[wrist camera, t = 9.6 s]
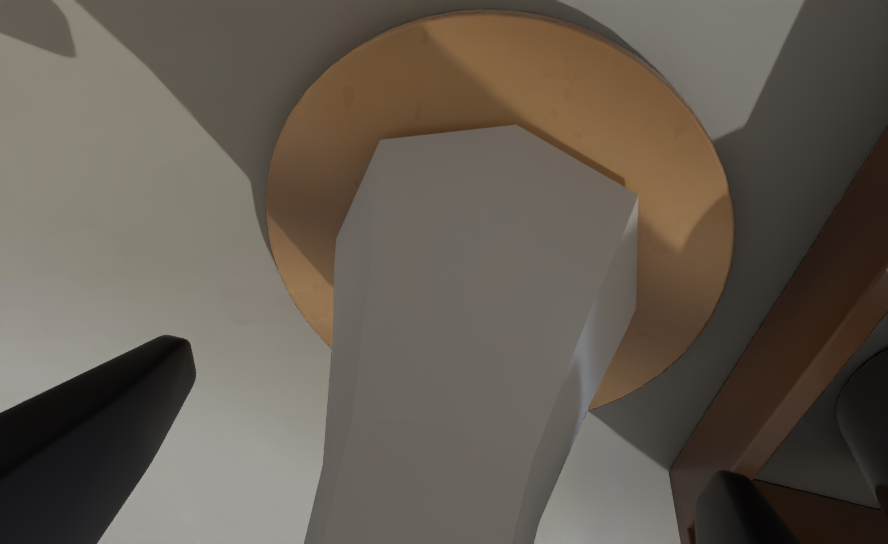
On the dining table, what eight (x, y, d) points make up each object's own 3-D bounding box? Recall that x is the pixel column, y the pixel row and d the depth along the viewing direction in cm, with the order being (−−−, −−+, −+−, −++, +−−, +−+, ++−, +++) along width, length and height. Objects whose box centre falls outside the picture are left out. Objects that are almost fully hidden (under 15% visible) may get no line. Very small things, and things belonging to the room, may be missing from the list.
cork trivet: (631, 442, 16) (633, 458, 16) (285, 357, 17) (276, 370, 16) (834, 65, 10) (848, 73, 9) (260, -37, 11) (244, -34, 10)
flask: (589, 402, 15) (612, 1019, 6) (337, 340, 15) (67, 835, 7) (699, 157, 10) (1157, 1044, 2) (344, 84, 11) (-301, 584, 3)
